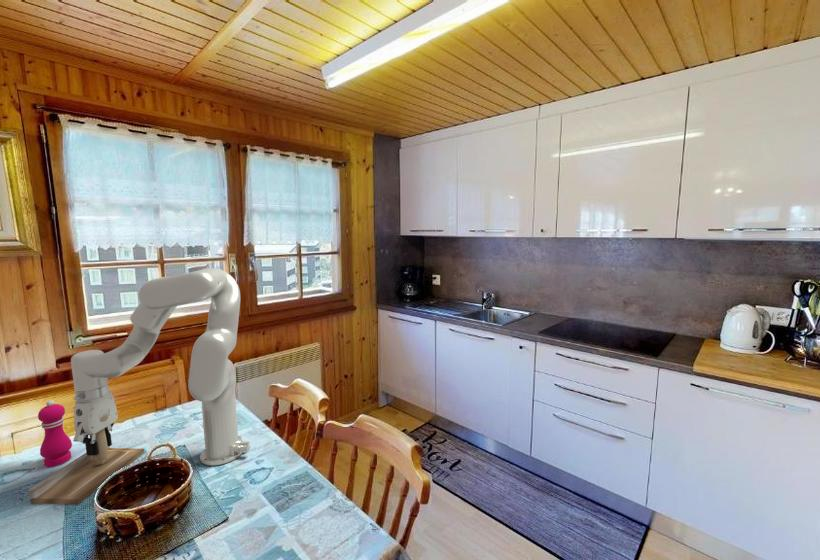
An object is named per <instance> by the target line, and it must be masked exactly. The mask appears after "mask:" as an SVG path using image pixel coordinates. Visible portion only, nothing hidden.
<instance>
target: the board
mask: <svg viewBox="0 0 820 560" xmlns="http://www.w3.org/2000/svg"><path fill="white" fill-rule="evenodd" d="M143 454H145V449H144V448H137V447H136V448H131V447H130V448H127V447H126V448H125V447H124V448H123V447H117V448H116V447H111V446H108V456H107V458H108V461H107V462H105V463H104V464H102V465H97V466H96V465H95V464H94V460H93V458H92V455H87V453H86V452H85V453H83V454H82V455H80V456H78V457H77V458H75V459H74V460H72V461H71V462H70V463H68V464H66V465H65V466H63V467H61V468H60V469H58V470H56V471H55V472H54V473H52V474H50V475H49V476H47V477H46V478H45V479H43V480H41V481H40V482H38V483H37V484H35V485H33V486H32V487H30V488H29V489H28V494H29V500H30V504H38V505H39V504H40V505H45V504H46V505H79V504H81V503H82V502H83V501H85V500H86V499H88V498H89V497H90V496H91V495H92V494H94V493H95V492H97V490H98V489H97V488H98V487H99V486H100V485H101V484H102V483H103V482H104V481H105V480H106V479H107V478H108V477H109V476H111V475H112V474H113V473H114V472H116V471H118V470H120V469H121V468H123V467H125V466H127V465H128V466H130V465H131V464H132V463H134V461H136V460H137V459H138V458H140V457H141V456H142V455H143ZM129 464H130V465H129ZM128 466H127V467H128ZM84 499H85V500H84ZM80 502H81V503H80Z"/></svg>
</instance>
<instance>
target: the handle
mask: <svg viewBox="0 0 820 560" xmlns="http://www.w3.org/2000/svg"><path fill="white" fill-rule="evenodd" d="M107 419H108V414H107V415H105V416H104V417H102V418H101V421H100V422H104V421H105V420H107ZM95 442H98V450H99V454H98V455H92V458H93V460H94V464H95V465H96V466H97V465H102V464H104V463H105V462H107V461H108V458H107V456H108V445H107V439H106V434H105V429H103V430H101V431H99V432H98V433H96V436H95Z"/></svg>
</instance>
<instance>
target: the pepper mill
mask: <svg viewBox="0 0 820 560" xmlns="http://www.w3.org/2000/svg"><path fill="white" fill-rule="evenodd" d="M45 405H46V406H44V407H42V408H41V409H40V410H39V412H38V413H37V419H38V420H39V421H40V422H41V429H43V430H44V437H43V441H42V443H41V445H40V449H39V455H40V456H41V457H42V458H44V459H43V466H44V467H45V466H46V467H45V468H52V467H53V468H54V467H57V466H60V465H62V464H65V463H66V462H69V461H70V460H71V458H72V452H71V449H72V447H73V443H72V439H71V438H70V437H69V435H67V434H66V432H65V430H64V427H63V425H64V423H65V418H64V415H65V413H66V409H65V407H64V406H63V405H62V404H58V403H55V401H54V400H53V399H51V400H47V402H46V404H45Z"/></svg>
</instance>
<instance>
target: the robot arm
mask: <svg viewBox="0 0 820 560" xmlns="http://www.w3.org/2000/svg"><path fill="white" fill-rule="evenodd" d="M208 299H210V300H211V301H210V305H209V309H208V316H207V317H208V318H207V324H206V327H205V328H206V329H205V331H204V333H202V334H201V335H199V337H198V338H197V339H196V340H195V341H194V344H193V347H192V351H191V357H190V363H189V371H188V372H189V373H188V381H187V385H188V391H189V393H190V396H191V397H192V398H193V399H194V400H196V401H198V402H201V412H202V413H201V414H202V425H203V427H202V428H203V438H204V448H205V449H204V450H202V452H200V455H199V460H200V462H201V463H202V464H203V465H205V466H220V465H224V464H227V463H229V462H233V461H235V460H236V459H238V458H239V457H240V456H241V455H242V454H243V452H249V451H250V448H251V446H250V441H248V440H247V441H246V440H245V441H243V440H242V436H241V435H239V431H238V429H239V428H238V418H237V402H236V400H237V399H236V380H237V379H236V377H237V375H236V367H235V365H234V364H233V362H232V361H231V360H230V359H229V355H231V353H232V352H233V351H234V349H235V347H236V346H237V341H238V340H237V339H238V328H239V321H240V320H239V319H240V310H241V290H240V287H239V284H238V282H237V281H236V280H235V278H234V277H233V276H232V275H230V273H229V272H227V271H225V270H223V269H220V268H217V267H207V268H202V269H200V270H199V269H198V270H195V271H191V272H187V273H181V274H175V275H173V276H161V277H158V278H154V279H153V278H152V279H150V280H148V281H146V282H145V283H144V284H142V286H141V287H140V289H139V291H138V300H139V302H140V303H138V305H137V307H136V308H135V309H134V311H133V312H132V313H131V315H130V317H129V319H130V322H131V323H132V325H133V328H132V330H131V332H130V333H129V335H128V337H126V339H125V340H124V341H123V343H122V344H121V345H119V346H118V347H115V348H114V349H111V350H110V351H107V352H104V351H102V350H101V349H100V350H99V349H88V350H84V351H80V352H77V353H75V354H73V355H72V356H71V358H70V363H71V365H70V366H71V373H72V379H73V380H72V381H73V388H74V394H75V396H74V397H73V400H74V401H75V402H74V409H73V423H74V430H75V435H74V437H73V442H77V443H78V442H79V443H82V444H83V445H85V453H87V455H98V454H99V450H98V442H95V436H96V433H98V432H99V431H101V430H103V429H105V434H106V439H107V445H108V446H109V447H111V446H112V445H113V443H112V442H113V441H112V434H111V433H112V432H113V426H114V425H115V422H116V421H117V420H118V416H119V415H118V409H117V405H116V401H115V397H114V395H113V393H112V391H111V390H110V388H109V379H115V378H118V377H121V376H122V375H124V374H125V373H126V372H129V371H130V370H131V369H132V368H134V367H136V366H137V365H139V364H140V363H141V362H143V360H144V359H145V358H146V356H147V355H148V354H149V352H150V351H151V349H152V348H153V346H154V345H155V344H156V342H157V339H158V337H159V335H160V333H161V329H162V328H163V327H164V325H165V324H166V322H167V321H168V320H169V318H170V317H171V315H172V314H173V312H174V311H175V309H176V308H177V307H178V306H183V305H188V304H193V303H198V302H202V301H206V300H208ZM107 414H108V419H107V420H105V421H104V422H100V421H101V418H102V417H104V416H105V415H107Z"/></svg>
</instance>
